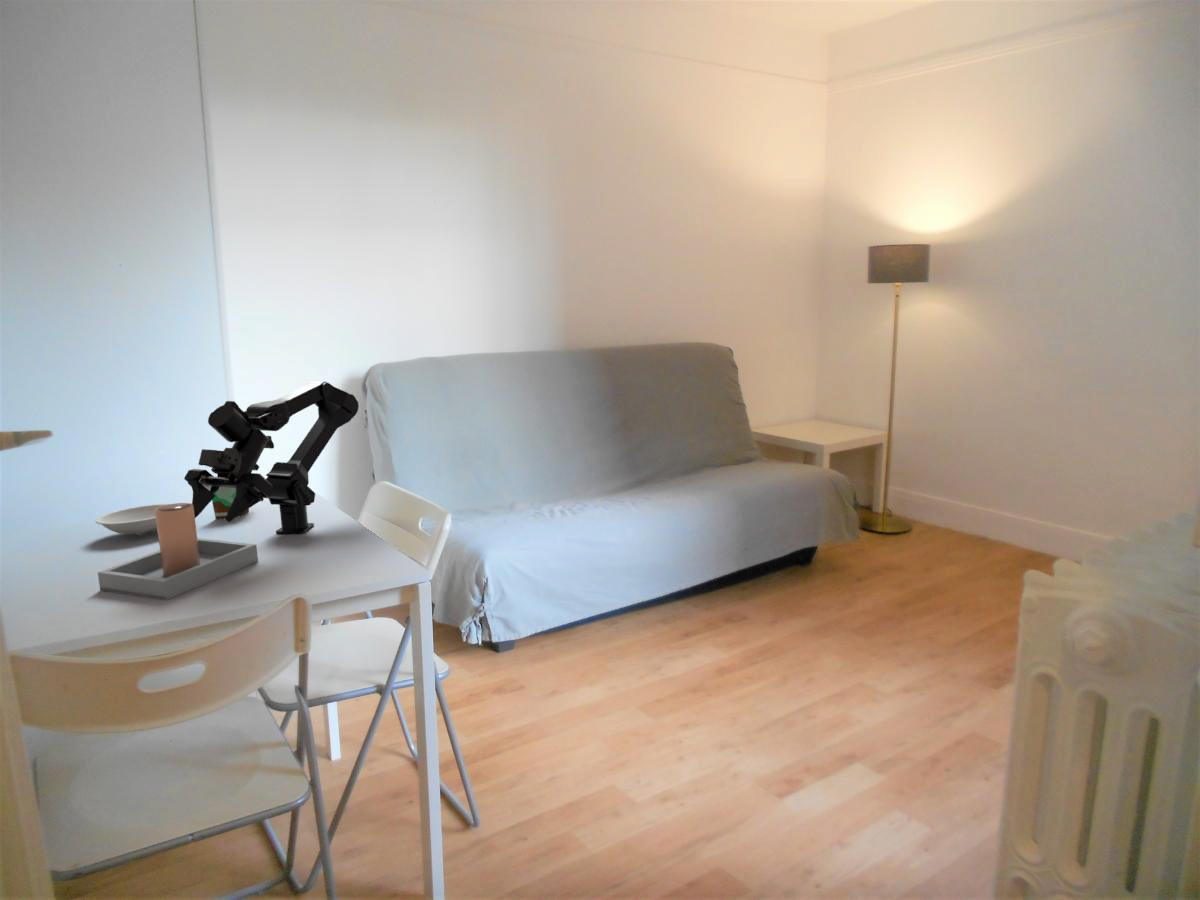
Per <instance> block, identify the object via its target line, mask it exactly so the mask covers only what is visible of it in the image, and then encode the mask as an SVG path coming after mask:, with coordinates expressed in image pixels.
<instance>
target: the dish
mask: <svg viewBox="0 0 1200 900" xmlns="http://www.w3.org/2000/svg"><path fill="white" fill-rule="evenodd" d="M168 504H169V503H157V504H156V503H155V504H146V505H139V506H134V507H132V506H131V507H128V508H124V509H118V510H115V511H111V512H108V513H105V514H103V515H100V516H98V517H97V518H95V523H96V524H98V525H101V526H103V527H104V528H105V529H107V530H109V531H112V532H115V533H118V534H123V535H127V534H128V535H134V534H137V535H138V536H143V535H142V534H145V535H146V534H147V532H152V531H153V530H154V531H155V530H157V523H156V516H155V509H156V508H158V507H160V506H164V505H168Z"/></svg>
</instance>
